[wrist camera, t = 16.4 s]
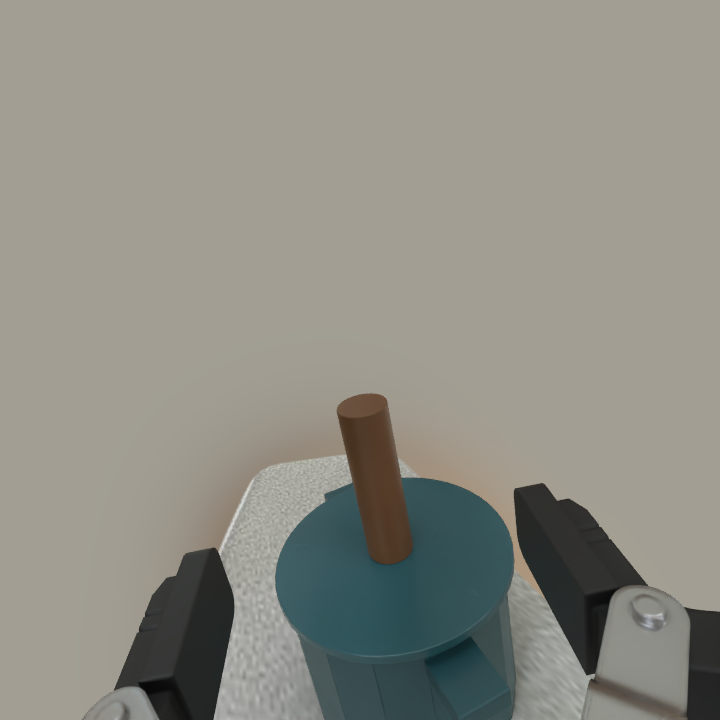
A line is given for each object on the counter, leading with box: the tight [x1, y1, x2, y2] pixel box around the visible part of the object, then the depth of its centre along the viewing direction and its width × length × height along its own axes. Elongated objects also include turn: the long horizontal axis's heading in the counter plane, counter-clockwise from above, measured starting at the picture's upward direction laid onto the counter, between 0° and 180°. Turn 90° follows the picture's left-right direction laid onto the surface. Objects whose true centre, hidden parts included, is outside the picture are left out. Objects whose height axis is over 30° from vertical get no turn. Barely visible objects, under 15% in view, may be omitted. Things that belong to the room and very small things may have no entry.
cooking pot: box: [298, 483, 516, 720], centre depth 28 cm, size 11×17×10 cm
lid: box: [275, 394, 514, 665], centre depth 25 cm, size 12×12×10 cm
